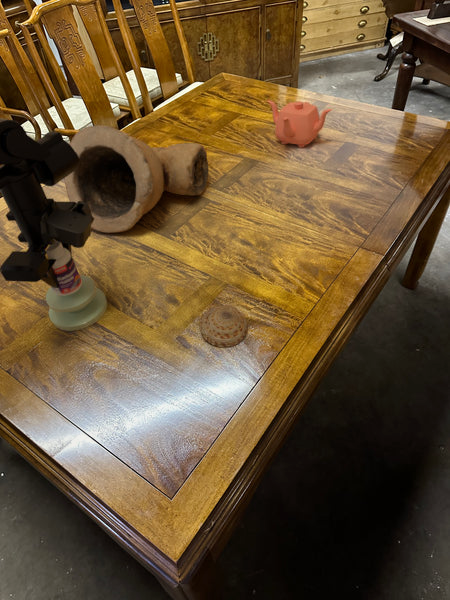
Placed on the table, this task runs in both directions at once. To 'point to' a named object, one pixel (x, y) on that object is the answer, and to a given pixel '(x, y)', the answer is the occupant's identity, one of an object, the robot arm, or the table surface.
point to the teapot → (297, 122)
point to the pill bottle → (64, 270)
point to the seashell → (223, 326)
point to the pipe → (130, 175)
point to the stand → (77, 306)
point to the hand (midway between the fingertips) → (63, 276)
